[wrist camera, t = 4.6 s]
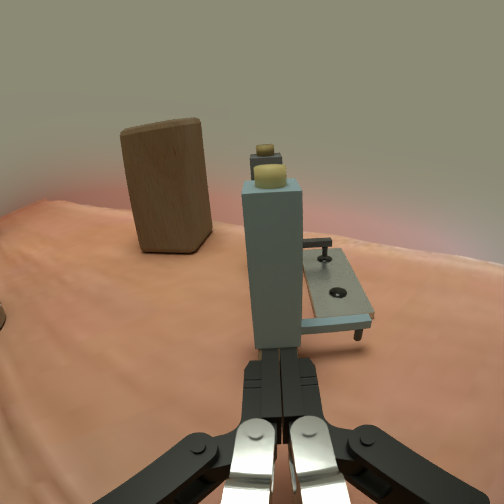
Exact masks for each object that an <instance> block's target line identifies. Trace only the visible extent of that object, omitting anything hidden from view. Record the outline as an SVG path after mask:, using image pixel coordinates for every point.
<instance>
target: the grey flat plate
mask: <svg viewBox="0 0 504 504" xmlns="http://www.w3.org/2000/svg"><path fill="white" fill-rule="evenodd" d="M303 272H304V275H305V279H306V283H307V287H308V291H309V295H310V299H311V304H312V308H313V312H314V316H315V318H325V317H336V316H347V315H357V314H367V313H369V316H370V318H371V319H373V318H374V313H375V312H374V310H373V308H372V306H371V304H370V302H369V300H368V298H367V296H366V294H365V292H364V290H363V288H362V286H361V284H360V282H359V281H358V279H357V277H356V275H355V273H354V271H353V269H352V267H351V265H350V264H349V262H348V260H347V258H346V256H345V254H344V253H343V251H342V249H341V248H333V249H328V251H327V257H323V256H322V249H314V250H303Z"/></svg>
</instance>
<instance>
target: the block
mask: <svg viewBox="0 0 504 504" xmlns="http://www.w3.org/2000/svg"><path fill="white" fill-rule="evenodd" d="M120 140H121V147H122V154H123V160H124V167H125V174H126V179H127V185H128V191H129V196H130V202H131V207H132V212H133V217H134V222H135V226H136V231H137V235H138V240H139V244H140V248H141V250H142V251H144V252H177V253H191V252H194V251H196V249H197V248H198V247H199V246H200V244H201V243H202V242H203V241H204V239H205V238H206V237H207V236H208V234H209V233H210V232H211V231H212V219H211V211H210V202H209V194H208V186H207V176H206V167H205V158H204V149H203V139H202V129H201V122H200V120H199V119H198V118H183V119H173V120H167V121H162V122H156V123H151V124H145V125H140V126H135V127H131V128H126V129H124V130H123V131H122V132H121V134H120Z"/></svg>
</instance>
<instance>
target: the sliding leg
mask: <svg viewBox="0 0 504 504" xmlns="http://www.w3.org/2000/svg"><path fill="white" fill-rule="evenodd" d="M242 206H243V217H244V229H245V241H246V252H247V263H248V275H249V286H250V297H251V308H252V320H253V331H254V341H255V349H263V348H283V347H298V346H301V335H304V334H317V333H328V332H339V331H349V330H355V333H354V340H355V341H360V340H361V338H362V333H363V329H366V328H370V327H371V322H372V320H371V318H370V316H369V313H367V314H357V315H347V316H336V317H325V318H312V319H302V281H303V208H302V190H301V188H300V186H299V184H298V182H297V180H296V179H295V178H294V179H293V178H290V179H286V166H285V165H282V164H265V165H258V166H255V167H254V180H252V181H244V185H243V190H242Z"/></svg>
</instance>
